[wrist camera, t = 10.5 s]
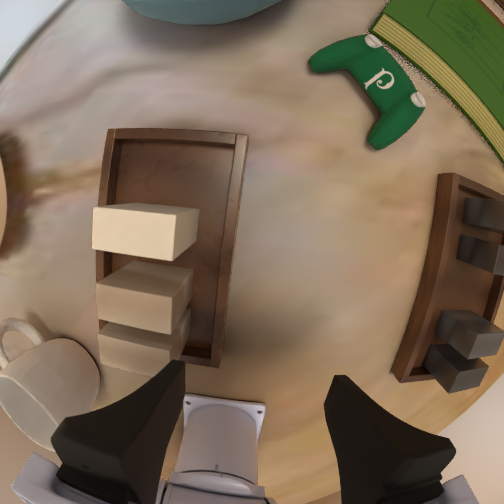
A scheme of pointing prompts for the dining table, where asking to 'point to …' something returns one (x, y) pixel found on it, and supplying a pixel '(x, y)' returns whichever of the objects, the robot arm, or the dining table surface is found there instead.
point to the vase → (198, 10)
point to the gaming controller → (375, 84)
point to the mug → (46, 383)
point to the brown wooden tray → (181, 268)
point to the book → (500, 3)
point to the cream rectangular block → (144, 229)
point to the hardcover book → (454, 55)
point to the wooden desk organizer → (457, 289)
